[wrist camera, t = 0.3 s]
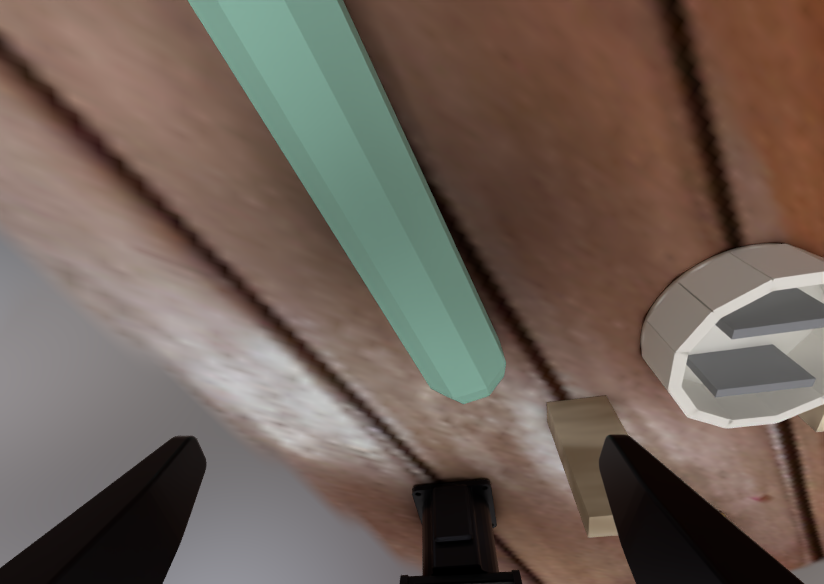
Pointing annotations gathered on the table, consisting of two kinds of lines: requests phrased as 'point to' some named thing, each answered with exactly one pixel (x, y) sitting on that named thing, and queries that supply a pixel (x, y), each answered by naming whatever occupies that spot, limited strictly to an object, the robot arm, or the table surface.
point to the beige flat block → (814, 418)
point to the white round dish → (741, 336)
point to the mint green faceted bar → (361, 178)
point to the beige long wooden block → (585, 455)
